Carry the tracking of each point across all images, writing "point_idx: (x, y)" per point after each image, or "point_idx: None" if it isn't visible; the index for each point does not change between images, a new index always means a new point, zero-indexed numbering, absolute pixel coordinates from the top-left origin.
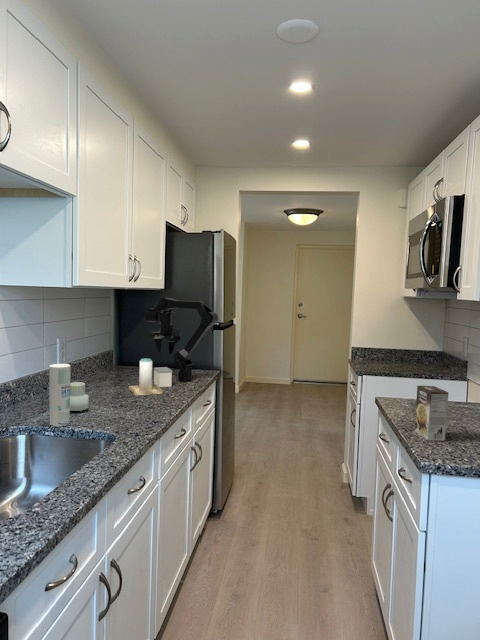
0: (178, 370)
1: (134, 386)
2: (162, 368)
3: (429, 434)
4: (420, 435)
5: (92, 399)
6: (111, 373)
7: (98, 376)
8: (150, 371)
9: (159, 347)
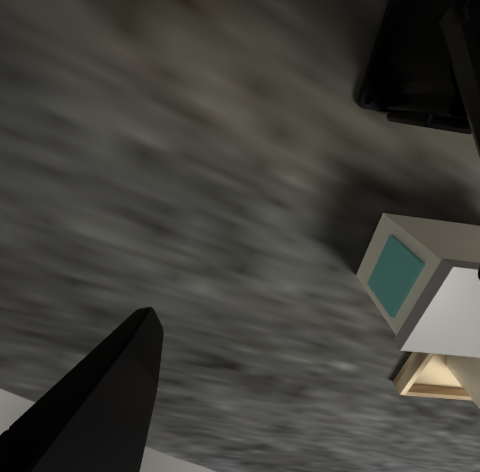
0: (456, 117)
1: (413, 380)
2: (478, 315)
3: None
4: None
5: (425, 459)
6: (32, 356)
7: None
8: None
9: (125, 404)
